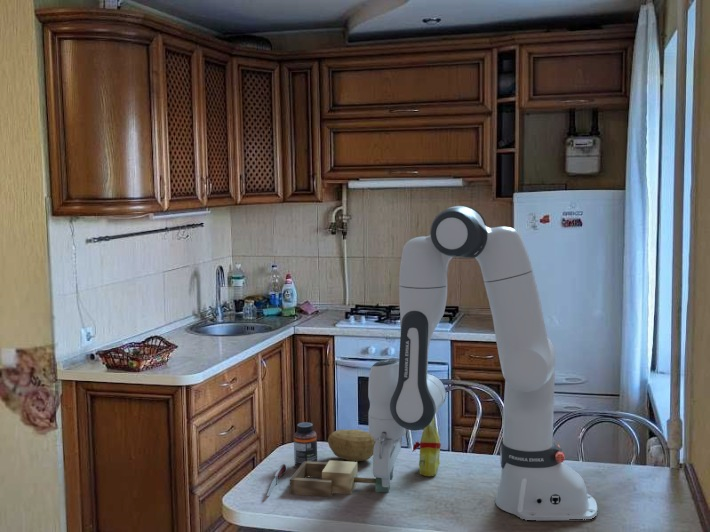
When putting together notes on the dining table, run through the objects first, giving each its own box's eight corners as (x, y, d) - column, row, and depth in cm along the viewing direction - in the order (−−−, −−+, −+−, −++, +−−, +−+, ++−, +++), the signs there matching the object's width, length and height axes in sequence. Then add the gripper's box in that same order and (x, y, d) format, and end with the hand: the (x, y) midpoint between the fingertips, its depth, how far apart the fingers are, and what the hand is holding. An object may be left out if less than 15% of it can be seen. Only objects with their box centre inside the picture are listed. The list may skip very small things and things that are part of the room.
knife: (282, 471, 210) (281, 460, 210) (286, 471, 210) (286, 460, 209) (264, 502, 190) (264, 490, 189) (269, 503, 190) (269, 490, 189)
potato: (337, 451, 224) (337, 422, 224) (384, 458, 218) (384, 428, 218) (320, 462, 216) (320, 432, 215) (369, 469, 210) (369, 439, 209)
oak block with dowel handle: (391, 483, 200) (391, 464, 199) (386, 496, 192) (386, 475, 191) (329, 479, 203) (329, 460, 202) (322, 492, 195) (321, 471, 195)
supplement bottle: (305, 461, 217) (304, 419, 215) (322, 466, 213) (321, 423, 212) (289, 467, 212) (288, 424, 211) (306, 472, 208) (305, 429, 207)
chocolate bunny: (442, 463, 214) (442, 407, 212) (437, 478, 203) (437, 419, 201) (416, 461, 215) (416, 406, 214) (410, 476, 205) (409, 418, 203)
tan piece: (342, 476, 205) (342, 463, 204) (331, 496, 192) (330, 482, 192) (304, 474, 207) (304, 460, 206) (289, 493, 194) (289, 479, 194)
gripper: (393, 440, 184) (394, 500, 185) (406, 415, 203) (406, 468, 205) (365, 439, 185) (366, 498, 186) (381, 413, 205) (381, 467, 206)
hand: (387, 482), depth 196 cm, fingers closed on oak block with dowel handle, 3 cm apart
